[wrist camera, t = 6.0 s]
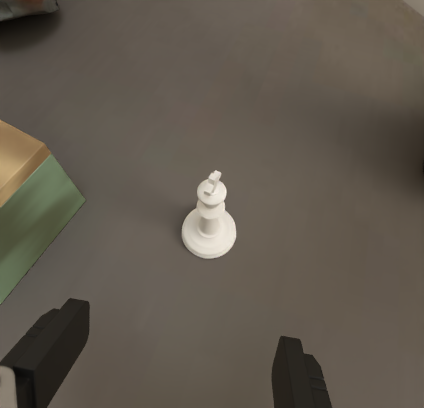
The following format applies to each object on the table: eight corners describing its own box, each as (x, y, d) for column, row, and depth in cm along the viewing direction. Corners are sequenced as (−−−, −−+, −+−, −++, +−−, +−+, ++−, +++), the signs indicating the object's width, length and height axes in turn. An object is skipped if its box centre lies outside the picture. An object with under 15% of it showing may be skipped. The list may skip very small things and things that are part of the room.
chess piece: (172, 244, 29) (159, 192, 20) (196, 199, 31) (195, 133, 22) (222, 268, 28) (233, 225, 19) (244, 220, 30) (263, 161, 21)
